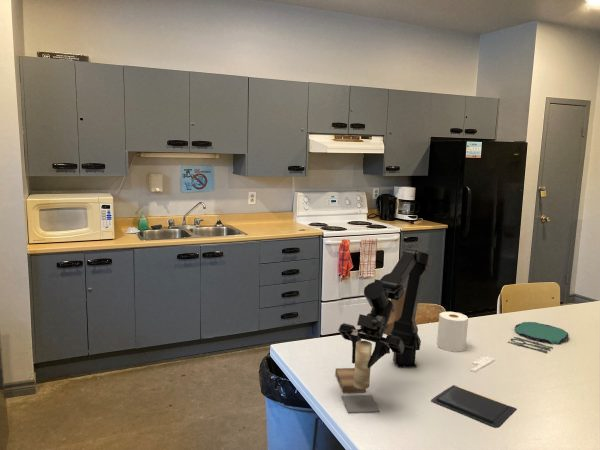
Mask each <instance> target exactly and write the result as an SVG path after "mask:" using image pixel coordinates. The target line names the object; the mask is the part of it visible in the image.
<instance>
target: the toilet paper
mask: <svg viewBox="0 0 600 450" xmlns="http://www.w3.org/2000/svg"><path fill="white" fill-rule="evenodd" d="M437 325H438V326H437V327H438V328H437V338H436V340H437V341H436V345H437V347H438V348H440V349H441V350H444V351H448V352H454V353H457V352H464V351H465V350H466V349H467V337H468V326H469V317H468V316H467V315H465V314H463V313H461V312H454V311H442V312H440V313H439V314H438V324H437Z"/></svg>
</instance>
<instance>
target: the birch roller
mask: <svg viewBox="0 0 600 450" xmlns="http://www.w3.org/2000/svg"><path fill="white" fill-rule="evenodd" d="M372 345H373V342H371V341H368V340H361V341H357V342H356V353H355V363H354V368H355V371H354V387H356V388H358V389H366V390H368V389H369V388H370V381H371V367H370V368H368V367H367V366H368V363H369V360H370V358H371V355H372V349H373V346H372Z"/></svg>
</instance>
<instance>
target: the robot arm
mask: <svg viewBox="0 0 600 450" xmlns="http://www.w3.org/2000/svg"><path fill="white" fill-rule="evenodd" d="M433 259H434V258H433V256H432V255H431V253H430V252H427V251H425V252H424V251H421V250H419V249H413V248H404V249H403V251H402V255H401V257H400V258H399V260H398V261H397V262H396V264H395V266H394V267H393V268H392V270H391V272H390V273H386V274H384V275H383V276H382V277H381V278H380V279H374V281H373V282H370V283H368V284H367V285H366V286H365V287H364V289H363V295H364V298H365V299H366V301H367V303H368V304H369V306H370V307H371V309H370V313H367V314H366V315H365V314H359V315H358V319H357V324H356V326H360V327H359V329H360V330H362V331H360V330H357V328H356V327H355V325H353V324H349V323H345V322H343V323H341V324H340V325H339V327H338V330H337V332H339V334H340V335H341V337H342V338H343V339H344V340H347V341H350V342H351V346H352V347H351V348H352V349H351V352H352V354H351V363H352V364H353V365H355V353H356V342H357V341H362V340H363V341H368V342H371V343H375V344H374V349H373V351H372V352H371V358H370V360H369V363H368V366H367V367H368V368H370V369H371V368H372V366H373V365H375V364H376V363H377V362H378V361H379V360H380V359H381V358H383V357H384V356H385V355H387V354H388V355H390V353H391V351H392V353H393V354H392V355H393V356H392V357H393V358H392V360H393V362H394V363H395V365H396V366H397V367H398V368H417V363H416V353H417V351H420V350H421V346H422V345H421V343H422V341H421V337H420V336H419V334H418V332H419V328H418V325H417V322H416V315H417V310H418V306H419V299H420V294H421V288H422V284H423V279H424V278H425V276H427V274H428V273H429V272H430V268H431V266H432V265H433ZM407 278H408V279H407ZM406 279H407V284H406V293H405V299H404V304H403V309H402V314H401V317H400V318H399V319H398V320H397V321H395V322H394V327H393V329H392V331H391V334H386V337H384V334H385V333H384V331H385V329H387V328H388V325H387V323H388V320H389V318H390V315H391V312H393V311H394V306H393V304H392V302H391V299H393V300H399V299H400V298H401V297H402V296H403V294H404V288H405V287H404V283H405V281H406ZM390 350H391V351H390Z"/></svg>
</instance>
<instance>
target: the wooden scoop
mask: <svg viewBox="0 0 600 450" xmlns="http://www.w3.org/2000/svg"><path fill="white" fill-rule="evenodd" d="M406 288H407V287H406ZM406 288H405V287H404V294H403V296H402V297H401V298H400V299H399V300H393V299H390V301H391V302H392V304H393V306H394V311H393V312H391V315H390V318H389V320H388V323H387V325H388V328H387V329H385V331H384V334H385V335H388V334H389V335H391V331H392V329H393V327H394V322H395V321H397V320H398V319H399V318H400V317H401V314H402V309H403V304H404V299H405V293H406Z"/></svg>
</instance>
